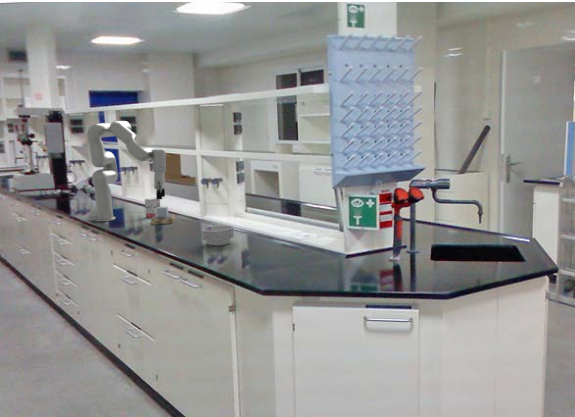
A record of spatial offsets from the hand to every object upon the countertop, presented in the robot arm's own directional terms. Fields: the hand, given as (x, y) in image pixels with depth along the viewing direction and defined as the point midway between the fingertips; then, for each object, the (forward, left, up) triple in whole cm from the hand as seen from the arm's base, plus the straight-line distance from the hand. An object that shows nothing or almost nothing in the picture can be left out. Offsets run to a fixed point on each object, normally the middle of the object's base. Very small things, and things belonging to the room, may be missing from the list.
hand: (160, 197), depth 335 cm
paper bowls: (+39, -67, -15) cm, 79 cm away
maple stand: (+1, 0, -15) cm, 15 cm away
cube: (+1, 0, -11) cm, 11 cm away
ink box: (-9, +21, -15) cm, 27 cm away
